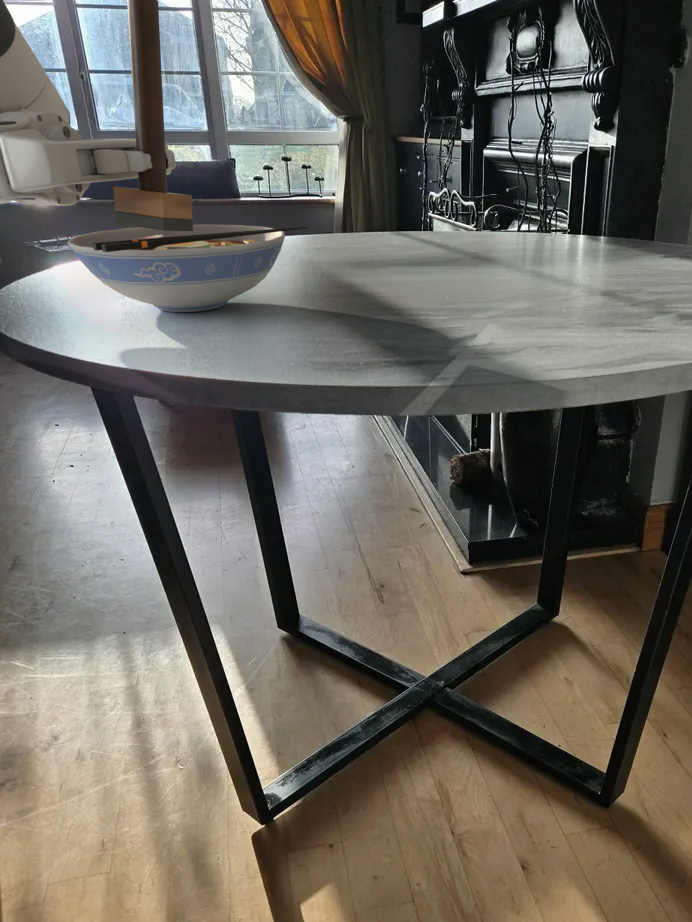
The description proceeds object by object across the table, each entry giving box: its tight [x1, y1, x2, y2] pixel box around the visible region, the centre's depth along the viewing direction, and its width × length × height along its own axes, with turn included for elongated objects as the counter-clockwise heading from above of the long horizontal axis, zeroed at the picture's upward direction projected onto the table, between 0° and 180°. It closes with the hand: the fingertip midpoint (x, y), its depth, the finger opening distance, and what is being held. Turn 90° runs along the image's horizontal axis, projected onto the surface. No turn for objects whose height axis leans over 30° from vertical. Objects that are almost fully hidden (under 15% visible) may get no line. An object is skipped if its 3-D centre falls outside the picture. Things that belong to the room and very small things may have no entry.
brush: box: [112, 0, 194, 231], centre depth 79 cm, size 6×5×20 cm
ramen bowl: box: [66, 224, 309, 313], centre depth 86 cm, size 25×23×8 cm
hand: (159, 160), depth 80 cm, fingers closed on brush, 3 cm apart
